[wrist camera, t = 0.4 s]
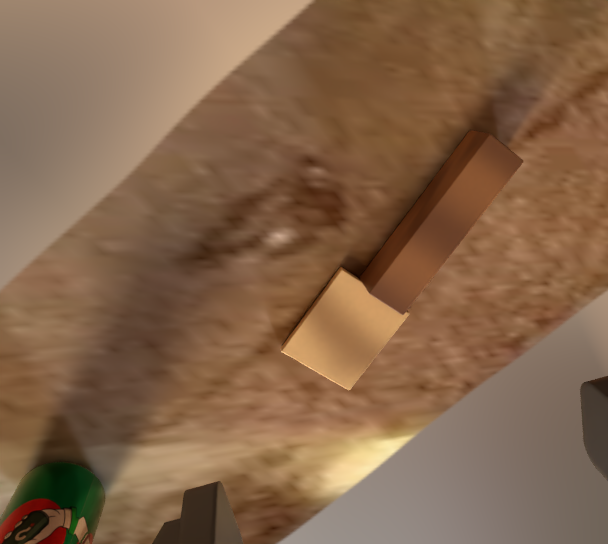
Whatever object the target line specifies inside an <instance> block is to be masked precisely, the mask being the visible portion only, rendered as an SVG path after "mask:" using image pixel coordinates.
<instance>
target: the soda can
mask: <svg viewBox="0 0 608 544" xmlns="http://www.w3.org/2000/svg"><path fill="white" fill-rule="evenodd" d="M104 503H105V492H104V488H103V486H102V484H101V482H100V481H99V479H98V478H97V477H96V476H95V475H94V474H93V473H92V472H91V471H89V470H88V469H86V468H85V467H83V466H80V465H78V464H74V463H69V462H53V463H48V464H44V465H41V466H38V467H36V468H34V469H32V470H31V471H30V472H28V473H27V474H26V475H25V476H24V477H23V479H22V480H21V482H20V483H19V485H18V487H17V489H16V491H15V492H14V494H13V496H12V498H11V500H10V501H9V503H8V505H7V507H6V509H5V510H4V512H3V514H2V516H1V518H0V544H92V542H93V539H94V536H95V532H96V529H97V526H98V523H99V520H100V517H101V514H102V511H103V507H104Z"/></svg>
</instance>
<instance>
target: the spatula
mask: <svg viewBox="0 0 608 544" xmlns="http://www.w3.org/2000/svg"><path fill="white" fill-rule="evenodd" d="M522 163H523V160H522V159H521V158H520V157H518V156H517V155H516V154H515V153H514V152H512V151H511V150H510V149H509V148H507V147H506V146H505V145H504V144H503V143H501V142H500V141H499V140H498V139H496V138H495V137H494V136H493V135H492V134H489V133H483V132H478V131H472V130H470V131H469V132H468V133H467V135H466V136H465V137H464V139H463V140H462V141H461V143H460V144H459V145H458V147H457V148H456V149H455V151H454V152H453V153H452V155H451V156H450V157H449V159H448V160H447V161H446V163H445V164H444V165H443V167H442V168H441V169H440V171H439V172H438V173H437V175H436V176H435V177H434V179H433V180H432V181H431V183H430V184H429V185H428V187H427V188H426V190H425V191H424V192H423V194H422V195H421V196H420V198H419V199H418V200H417V202H416V203H415V204H414V206H413V207H412V208H411V210H410V211H409V212H408V214H407V215H406V216H405V218H404V219H403V220H402V222H401V223H400V224H399V226H398V227H397V228H396V230H395V231H394V232H393V234H392V235H391V236H390V238H389V239H388V240H387V242H386V243H385V244H384V246H383V247H382V248H381V250H380V251H379V252H378V254H377V255H376V256H375V258H374V259H373V260H372V262H371V263H370V264H369V266H368V267H367V268H366V270H365V271H364V272H363V274H362V275H361V276H360V278H357V277H356V276H354V275H353V274H351V273H350V272H348V271H347V270H345V269H344V268H342V267H340V268H339V270H338V271H337V272H336V274H335V275H334V276H333V278H332V279H331V280H330V282H329V283H328V284H327V286H326V287H325V289H324V290H323V291H322V293H321V294H320V295H319V297H318V298H317V299H316V301H315V302H314V304H313V305H312V306H311V308H310V309H309V310H308V312H307V313H306V314H305V316H304V317H303V318H302V320H301V321H300V323H299V324H298V325H297V327H296V328H295V329H294V331H293V332H292V333H291V335H290V336H289V337H288V339H287V340H286V342H285V343H284V344H283V346H282V347H281V351H282V352H283V353H285V354H287V355H288V356H290V357H292V358H294V359H295V360H297V361H299V362H301V363H302V364H304V365H306V366H308V367H309V368H311V369H313V370H314V371H316V372H318V373H320V374H321V375H323V376H325V377H327V378H328V379H330V380H332V381H334V382H335V383H337V384H339V385H340V386H342V387H344V388H346V389H347V390H350V389H351V388H352V386H353V385H354V384H355V382H356V381H357V380H358V379H359V377H360V376H361V375H362V374H363V372H364V371H365V370H366V369H367V367H368V366H369V365H370V363H371V362H372V361H373V360H374V358H375V357H376V356H377V355H378V353H379V352H380V351H381V349H382V348H383V347H384V346H385V344H386V343H387V342H388V341H389V339H390V338H391V337H392V335H393V334H394V333H395V332H396V330H397V329H398V328H399V327H400V325H401V324H402V323H403V321H404V320H405V319H406V318H407V316H408V315H409V314H410V313H409V312H408V309H409V307H410V306H411V305H412V303H413V302H414V301H415V300H416V298H417V297H418V296H419V295H420V293H421V292H422V291H423V289H424V288H425V287H426V286H427V284H428V283H429V282H430V280H431V279H432V278H433V277H434V275H435V274H436V273H437V272H438V270H439V269H440V268H441V266H442V265H443V264H444V263H445V261H446V260H447V259H448V258H449V256H450V255H451V254H452V252H453V251H454V250H455V249H456V247H457V246H458V245H459V243H460V242H461V241H462V240H463V238H464V237H465V236H466V235H467V233H468V232H469V231H470V229H471V228H472V227H473V226H474V224H475V223H476V222H477V220H478V219H479V218H480V217H481V215H482V214H483V213H484V212H485V210H486V209H487V208H488V206H489V205H490V204H491V203H492V201H493V200H494V199H495V198H496V196H497V195H498V194H499V192H500V191H501V190H502V189H503V187H504V186H505V185H506V183H507V182H508V181H509V180H510V178H511V177H512V176H513V175H514V173H515V172H516V171H517V169H518V168H519V167H520V166H521V164H522Z"/></svg>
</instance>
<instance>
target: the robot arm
mask: <svg viewBox="0 0 608 544" xmlns="http://www.w3.org/2000/svg"><path fill="white" fill-rule="evenodd" d="M580 392H581V393H580V394H581V409H582V425H583V439H584V445H585V448H586V451H587V454H588V455H589V458H590V460H591V461H592V463H593V465H594V466H595V467H596V469H597V470H598V471H599V472H600V473H601V474H602V475H603V476H604V477H605V478H606V480H608V376H606V377H602V378H598V379H595V380H591V381H588V382H584V383H583V384H582V386H581V391H580ZM152 544H243V541H242V537H241V534H240V531H239V528H238V526H237V523H236V520H235V517H234V514H233V512H232V509H231V506H230V503H229V501H228V498H227V495H226V492H225V489H224V487H223V485H222V483H221V482H220V481H218V482H214V483H211V484H207V485H204V486H200V487H196V488H193V489H189V490H186V491H185V493H184V497H183V505H182V512H181V518H180V519H177V520H173V521H169V522H166V523H164V525H163V526H162V528H161V530H160V531H159V533H158V535H157V536H156V538H155V540H154V542H153V543H152Z"/></svg>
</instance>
